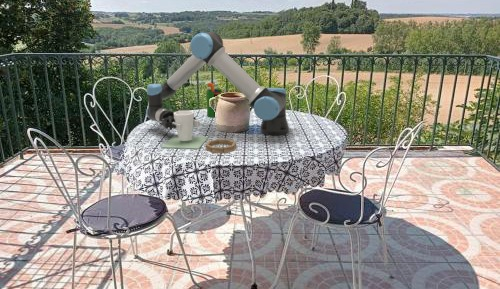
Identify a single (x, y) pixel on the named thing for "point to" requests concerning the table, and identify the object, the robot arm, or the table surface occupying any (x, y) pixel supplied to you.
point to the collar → (220, 149)
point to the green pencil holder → (210, 94)
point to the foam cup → (184, 124)
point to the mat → (185, 143)
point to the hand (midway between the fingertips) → (189, 125)
